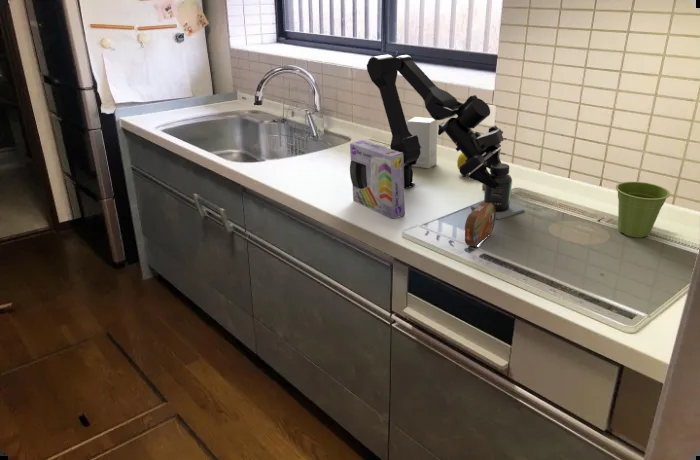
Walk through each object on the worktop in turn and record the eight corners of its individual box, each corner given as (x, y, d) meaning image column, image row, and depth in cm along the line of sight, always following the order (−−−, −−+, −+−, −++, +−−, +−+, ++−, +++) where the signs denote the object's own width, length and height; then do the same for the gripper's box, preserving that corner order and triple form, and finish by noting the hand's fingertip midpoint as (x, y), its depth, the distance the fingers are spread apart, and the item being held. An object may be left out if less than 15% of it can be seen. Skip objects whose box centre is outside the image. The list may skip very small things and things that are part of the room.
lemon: (474, 177, 184) (475, 153, 181) (456, 176, 185) (457, 152, 182) (474, 172, 189) (476, 148, 186) (456, 171, 190) (458, 147, 187)
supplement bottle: (514, 208, 159) (519, 166, 154) (496, 214, 155) (500, 171, 150) (496, 201, 164) (500, 160, 159) (478, 206, 161) (481, 164, 156)
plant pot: (620, 243, 139) (628, 199, 135) (600, 223, 150) (607, 181, 146) (670, 242, 139) (680, 198, 135) (647, 222, 150) (655, 180, 146)
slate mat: (497, 219, 154) (497, 217, 153) (470, 208, 161) (471, 206, 161) (524, 211, 158) (524, 209, 158) (496, 200, 166) (497, 198, 166)
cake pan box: (349, 200, 169) (347, 140, 161) (363, 196, 171) (362, 137, 164) (391, 220, 154) (392, 156, 147) (405, 216, 157) (407, 152, 150)
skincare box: (437, 164, 198) (438, 118, 191) (428, 169, 193) (430, 122, 186) (414, 160, 202) (415, 115, 195) (405, 165, 197) (406, 120, 190)
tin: (473, 252, 136) (476, 219, 133) (461, 250, 138) (463, 217, 134) (495, 230, 148) (498, 198, 144) (483, 227, 149) (486, 196, 146)
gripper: (474, 126, 145) (514, 175, 144) (496, 111, 159) (532, 155, 159) (443, 153, 151) (481, 200, 151) (466, 136, 166) (501, 178, 166)
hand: (500, 182), depth 157 cm, fingers open, 9 cm apart
